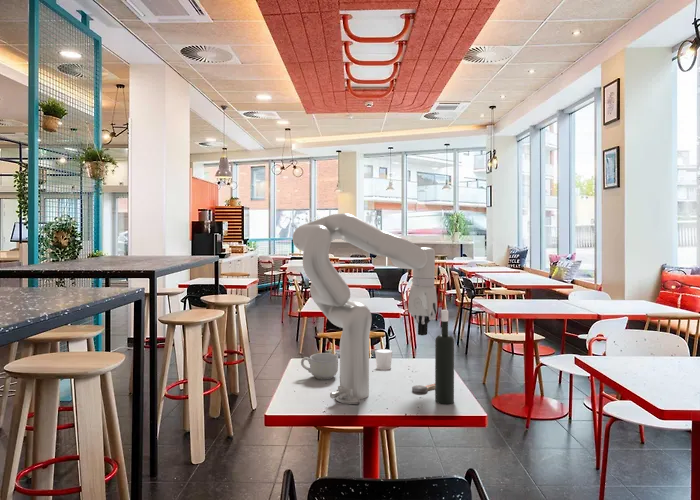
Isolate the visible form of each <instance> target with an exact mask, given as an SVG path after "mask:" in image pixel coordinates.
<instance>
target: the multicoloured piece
mask: <svg viewBox="0 0 700 500" xmlns="http://www.w3.org/2000/svg"><path fill="white" fill-rule="evenodd" d="M430 390H435V383H431V384H430V383H429V384H428V385H413V386H412V387H411V391H412V392H413V393H414V394H419V395H420V394H427V393H428V391H430Z"/></svg>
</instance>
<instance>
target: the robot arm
mask: <svg viewBox="0 0 700 500" xmlns="http://www.w3.org/2000/svg"><path fill="white" fill-rule="evenodd" d="M335 240H341V241H344V242H347V243H348V244H350V245H353V246H354V247H357V248H358V249H360V250H362V251H365V252H367V253H369V254H372V255H374V256H380V257H385V258H389V259H390V261H391V264H392V265H393V266H394V267H396V268H398V269H403V270H412V278H411V282H412V285H411V286H410V290H409V293H408V295H409V296H408V305H407V306H408V309H407V311H408V313H409V314H410V316H411V317H413V318H414V319H415V321H416V324H417V335H418V336H427V335H428V324H430V322H431V321H433V320H436V315H437V313H438V299H437V289H436V287H435V274H436V273H435V269H436V267H435V266H436V265H435V264H436V262H435V261H436V259H435V258H436V253H435V252H436V251H435V249H434V248H432V247H421V246H419V245H417V244H416V243H413V242H412V241H410V240H408V239H405V238H403V237H399V236H397V235H394V234H393V233H389V232H387V231H386V230H385V231H384V230H381V229H380V228H377V226H376V227H375V226H373V225H372V224H370V223H368V222H366V221H364V220H363V219H360V218H359V217H357V216H355V215H353V214H350V213H347V212H346V213H344V212H343V213H333V214H330V215H327V216H324V217H322V218H319V219H317V220H314V221H311V222H307V223H304V224H301V225H300V226H298V227H297V228H296V229H295V230H294V232H293V234H292V243H293V245H294V246H295V248H297V250H299V251H302V252H303V255H302V268H303V271H304V273H305V275H306V277H307V278H308V280H309V281H310V282H311V283H310V287H309V292H310V297H311V299H312V300H313V302H314V303H315V305H316V306H317V307H318V309H319V310H320V311H321V313H322V314H323V315H324V316H325V317H326V318H327V320H328V321H329V322H330V323H331V324H333V325H334V326H336V327H338V328H340V329H342V332H341V336H340V341H339V385H338V386H337V389H336V391H335V390H334V391H332V392H329V393H330V394H329V397H330V398H331V399H334V400H336V401H337V402H339V403H341V404H346V405H360V400H361V399H362V400H363V399H366V398H368V397H369V396H370V333H371V332H370V331H371V327H372V321H373V319H372V312H371V310H370V309H369V308H368V306H367V305H365V304H364V303H362V302H359V301H354V300H350V298H351V290H350V287H349V285H348V284H347V282H346V281H345V280H344V279H343V277H342V276H341V275H340V274H339V272H338V271H337V269H336V268H335V267H334V265H333V263H332V262H331V259H330V247H331V243H332V241H335Z"/></svg>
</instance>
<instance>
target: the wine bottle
mask: <svg viewBox="0 0 700 500" xmlns="http://www.w3.org/2000/svg"><path fill="white" fill-rule="evenodd" d="M440 310H441V313H440V314H441V316H440V317H441V320H440V321H441V334H439V335H437V336H436V338H435V339H434V340H435V344H434V346H435V347H434V349H435V353H434V357H435V359H434V360H435V361H434V363H435V365H434V367H435V368H434V371H435V372H434V376H435V377H434V381H435V382H434V384H435V389H434V396H435V397H434V402H435V403H436V404H438V405H442V406H443V405H444V406H447V405H448V406H449V405H453V404H455V339H454V337H453V336H452V335H450V334H449V310H447V309H440Z"/></svg>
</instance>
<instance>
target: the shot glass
mask: <svg viewBox="0 0 700 500" xmlns="http://www.w3.org/2000/svg"><path fill="white" fill-rule="evenodd" d="M374 355H375V363H376V364H375V365H376V369H377V370H380V371H388V370H390V368H391V369H392V358H393V350H392V349H388V348H379V349H375V351H374Z"/></svg>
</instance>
